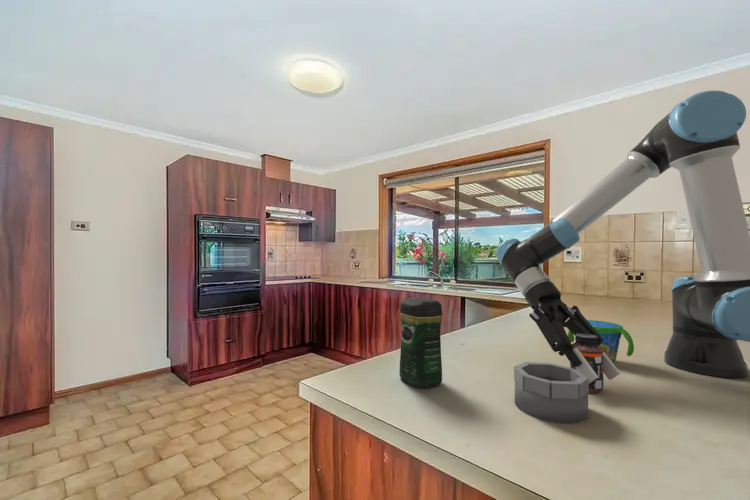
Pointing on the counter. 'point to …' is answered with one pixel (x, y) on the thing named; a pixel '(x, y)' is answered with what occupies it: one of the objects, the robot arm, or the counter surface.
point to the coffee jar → (421, 342)
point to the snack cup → (609, 337)
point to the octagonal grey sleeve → (551, 392)
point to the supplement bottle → (591, 358)
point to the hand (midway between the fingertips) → (603, 378)
